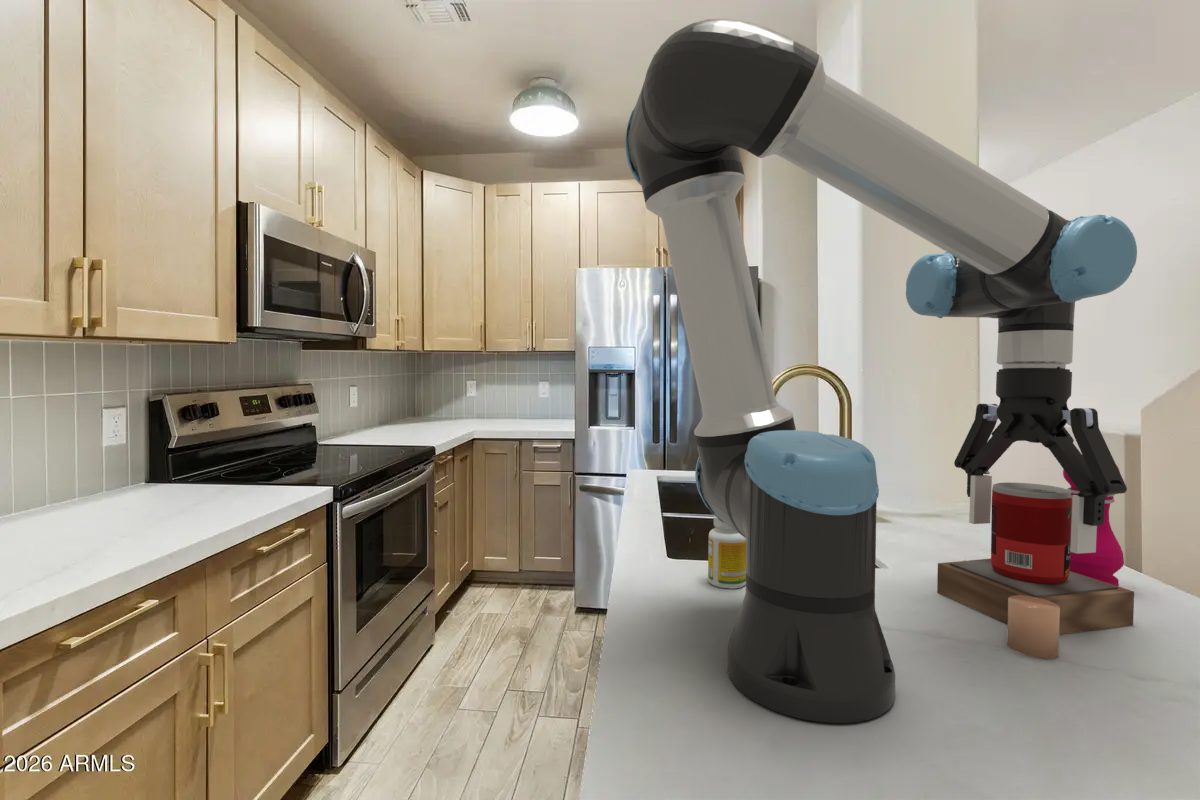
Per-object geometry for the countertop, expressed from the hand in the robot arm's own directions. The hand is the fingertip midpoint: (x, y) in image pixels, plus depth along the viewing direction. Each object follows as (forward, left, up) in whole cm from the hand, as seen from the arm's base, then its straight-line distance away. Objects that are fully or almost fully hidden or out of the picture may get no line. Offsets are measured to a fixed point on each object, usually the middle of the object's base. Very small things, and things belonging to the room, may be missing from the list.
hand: (1026, 536), depth 72 cm
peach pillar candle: (-10, -9, -9) cm, 16 cm away
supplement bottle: (-33, +17, -9) cm, 38 cm away
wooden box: (0, 0, -9) cm, 9 cm away
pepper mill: (+15, +4, -9) cm, 18 cm away
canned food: (0, 0, -5) cm, 5 cm away
